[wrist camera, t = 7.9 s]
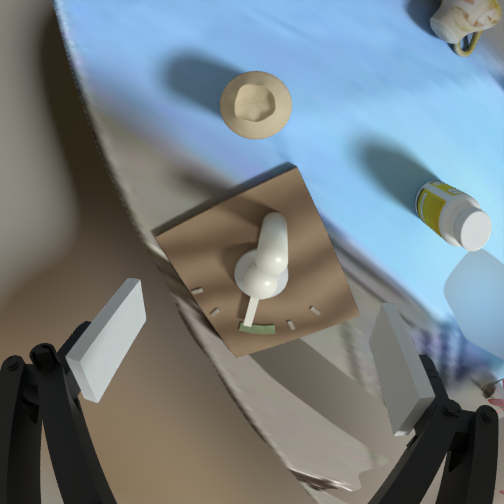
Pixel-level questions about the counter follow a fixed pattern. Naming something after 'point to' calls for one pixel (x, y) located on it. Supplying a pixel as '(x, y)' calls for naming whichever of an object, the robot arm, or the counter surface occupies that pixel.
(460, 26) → the mug
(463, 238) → the supplement bottle
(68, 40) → the counter surface
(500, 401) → the figurine
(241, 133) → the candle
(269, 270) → the handle
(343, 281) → the board
